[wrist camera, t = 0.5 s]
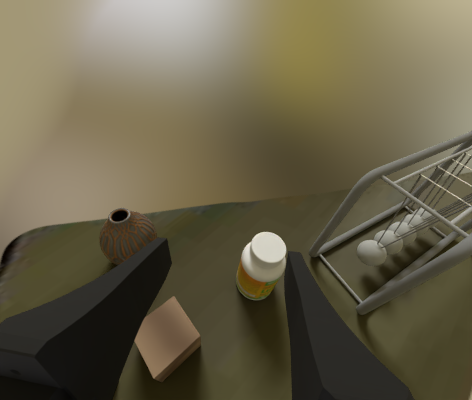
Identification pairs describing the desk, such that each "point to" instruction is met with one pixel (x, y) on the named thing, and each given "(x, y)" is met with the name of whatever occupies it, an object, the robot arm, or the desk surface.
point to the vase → (125, 234)
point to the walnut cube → (166, 339)
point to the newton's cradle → (405, 225)
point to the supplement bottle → (261, 266)
